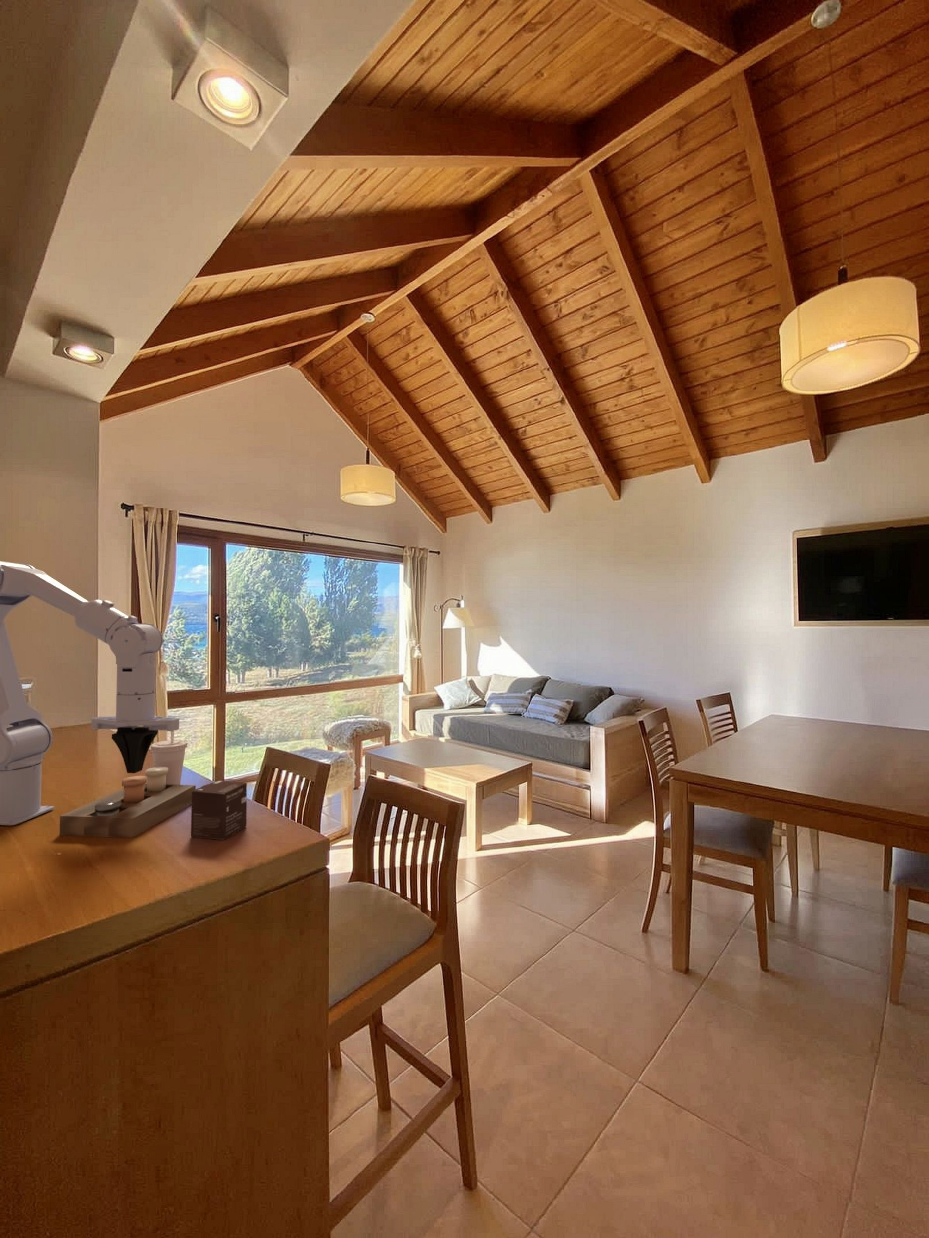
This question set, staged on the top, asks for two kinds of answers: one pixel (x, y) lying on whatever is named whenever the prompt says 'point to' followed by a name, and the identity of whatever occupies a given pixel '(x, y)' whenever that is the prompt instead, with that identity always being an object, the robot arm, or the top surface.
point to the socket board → (127, 813)
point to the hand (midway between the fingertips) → (134, 771)
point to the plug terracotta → (134, 789)
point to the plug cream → (156, 779)
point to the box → (218, 809)
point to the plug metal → (108, 807)
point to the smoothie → (170, 758)
